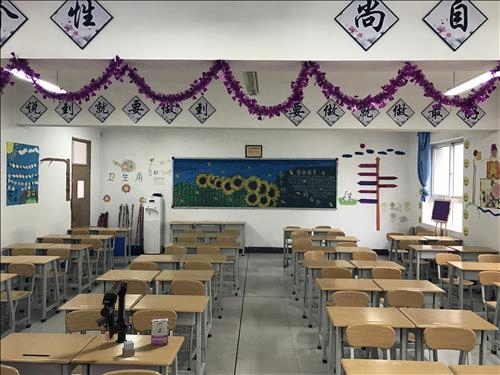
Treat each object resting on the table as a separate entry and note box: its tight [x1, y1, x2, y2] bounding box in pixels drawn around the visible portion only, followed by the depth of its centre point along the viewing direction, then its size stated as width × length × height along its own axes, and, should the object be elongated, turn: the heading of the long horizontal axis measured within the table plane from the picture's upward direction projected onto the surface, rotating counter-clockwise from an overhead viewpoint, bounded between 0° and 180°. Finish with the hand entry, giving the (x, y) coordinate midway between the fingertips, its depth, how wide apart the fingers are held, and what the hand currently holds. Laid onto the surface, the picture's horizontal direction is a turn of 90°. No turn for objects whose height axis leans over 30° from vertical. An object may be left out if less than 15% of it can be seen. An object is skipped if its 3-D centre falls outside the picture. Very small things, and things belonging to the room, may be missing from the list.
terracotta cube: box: [104, 331, 115, 342], centre depth 272 cm, size 4×4×4 cm
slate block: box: [122, 340, 135, 351], centre depth 275 cm, size 5×5×4 cm
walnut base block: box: [121, 347, 136, 358], centre depth 275 cm, size 6×6×4 cm
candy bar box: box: [150, 318, 169, 346], centre depth 295 cm, size 11×5×16 cm, turn 101°
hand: (109, 337), depth 272 cm, fingers closed on terracotta cube, 4 cm apart
